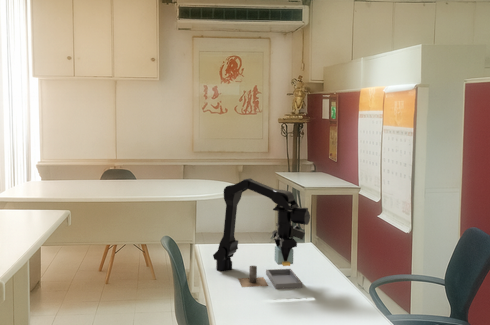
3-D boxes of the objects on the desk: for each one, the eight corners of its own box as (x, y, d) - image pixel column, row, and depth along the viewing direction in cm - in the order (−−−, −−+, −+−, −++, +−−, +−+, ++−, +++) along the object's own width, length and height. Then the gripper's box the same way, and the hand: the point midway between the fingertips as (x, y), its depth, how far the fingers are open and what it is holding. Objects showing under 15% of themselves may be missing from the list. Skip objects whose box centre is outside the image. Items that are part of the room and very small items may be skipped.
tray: (275, 291, 198) (275, 284, 197) (265, 276, 216) (266, 269, 216) (302, 290, 199) (302, 282, 199) (290, 275, 218) (290, 268, 218)
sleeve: (294, 265, 202) (294, 251, 202) (279, 266, 201) (279, 251, 201) (289, 259, 211) (289, 245, 210) (274, 260, 210) (274, 246, 209)
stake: (241, 289, 199) (242, 271, 199) (237, 280, 210) (238, 263, 209) (268, 288, 201) (268, 270, 200) (263, 279, 212) (263, 262, 211)
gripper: (309, 226, 198) (308, 264, 199) (297, 216, 216) (296, 252, 217) (282, 226, 196) (281, 265, 197) (272, 217, 214) (271, 252, 216)
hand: (283, 258), depth 207 cm, fingers closed on sleeve, 6 cm apart
